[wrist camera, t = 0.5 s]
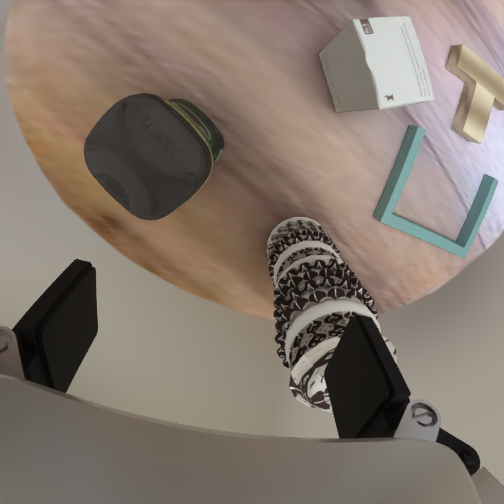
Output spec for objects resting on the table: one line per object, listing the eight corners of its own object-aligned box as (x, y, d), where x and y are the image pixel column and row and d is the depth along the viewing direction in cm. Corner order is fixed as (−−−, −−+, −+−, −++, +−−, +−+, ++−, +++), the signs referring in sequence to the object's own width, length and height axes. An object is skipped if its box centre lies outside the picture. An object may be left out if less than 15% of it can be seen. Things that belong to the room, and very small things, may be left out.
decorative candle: (249, 254, 43) (255, 408, 20) (291, 199, 40) (351, 318, 17) (302, 287, 45) (345, 437, 22) (344, 238, 42) (431, 368, 19)
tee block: (450, 46, 30) (462, 43, 27) (502, 89, 32) (514, 89, 29) (430, 115, 35) (442, 116, 32) (484, 153, 36) (496, 156, 34)
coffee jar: (136, 135, 36) (57, 156, 19) (181, 89, 34) (126, 69, 17) (189, 188, 39) (147, 247, 22) (235, 145, 37) (227, 169, 20)
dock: (409, 125, 35) (418, 126, 33) (488, 177, 38) (498, 181, 36) (373, 215, 41) (380, 221, 38) (456, 252, 43) (464, 258, 41)
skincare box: (375, 105, 35) (440, 106, 21) (332, 113, 35) (381, 114, 22) (358, 44, 31) (415, 14, 18) (313, 50, 32) (352, 17, 18)
